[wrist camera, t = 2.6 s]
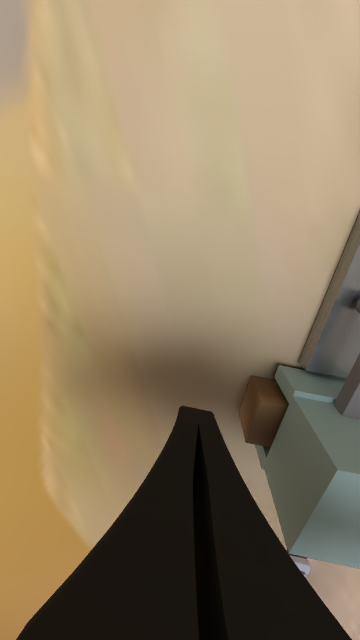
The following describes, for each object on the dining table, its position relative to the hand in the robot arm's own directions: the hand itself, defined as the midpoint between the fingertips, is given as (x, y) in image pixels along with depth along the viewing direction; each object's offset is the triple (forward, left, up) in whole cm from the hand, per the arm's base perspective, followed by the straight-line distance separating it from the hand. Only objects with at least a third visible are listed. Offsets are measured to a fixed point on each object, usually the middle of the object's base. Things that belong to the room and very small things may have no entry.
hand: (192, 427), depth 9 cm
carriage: (+2, -6, -3) cm, 7 cm away
